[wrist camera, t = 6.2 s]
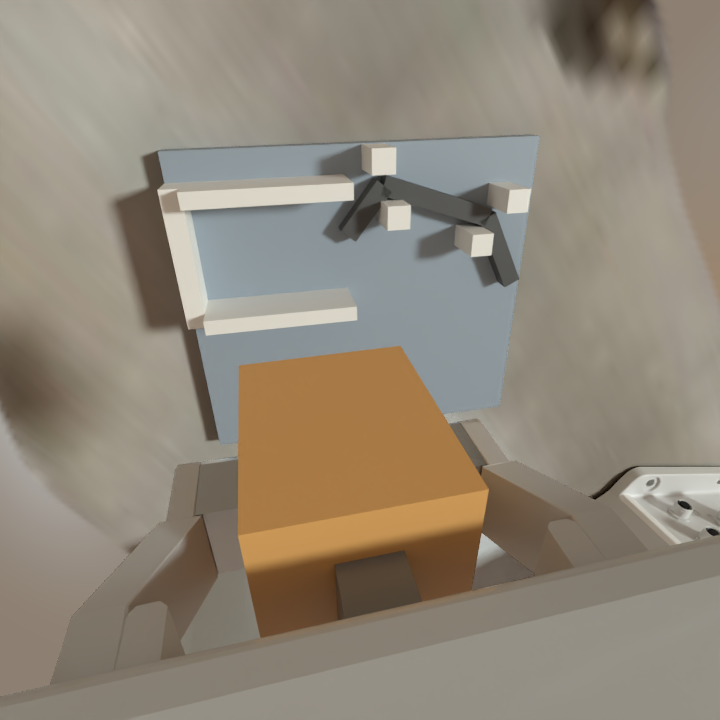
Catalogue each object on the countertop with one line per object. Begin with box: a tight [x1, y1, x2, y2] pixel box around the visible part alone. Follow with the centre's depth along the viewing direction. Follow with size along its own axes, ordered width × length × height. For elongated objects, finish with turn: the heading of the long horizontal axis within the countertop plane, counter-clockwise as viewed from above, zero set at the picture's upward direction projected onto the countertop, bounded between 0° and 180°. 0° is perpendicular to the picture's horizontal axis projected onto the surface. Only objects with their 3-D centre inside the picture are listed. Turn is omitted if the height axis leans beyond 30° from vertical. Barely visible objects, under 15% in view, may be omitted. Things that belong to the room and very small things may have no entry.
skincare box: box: [181, 569, 260, 655], centre depth 30 cm, size 8×6×15 cm
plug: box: [238, 346, 489, 638], centre depth 10 cm, size 4×4×6 cm
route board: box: [157, 135, 540, 445], centre depth 28 cm, size 20×18×4 cm
